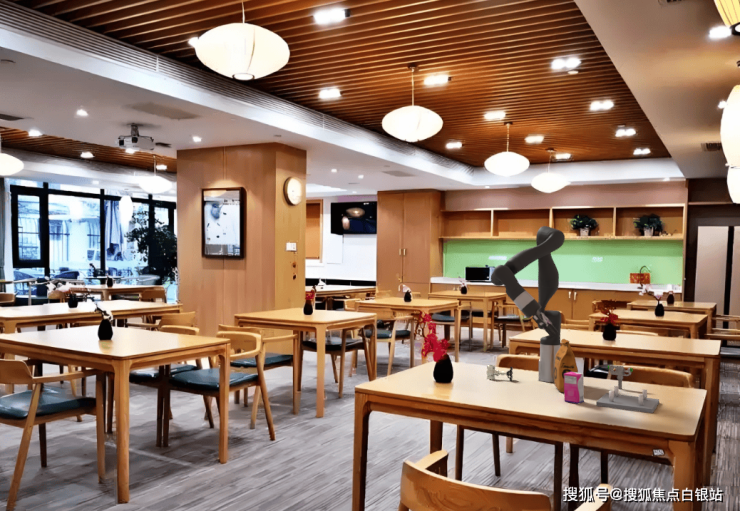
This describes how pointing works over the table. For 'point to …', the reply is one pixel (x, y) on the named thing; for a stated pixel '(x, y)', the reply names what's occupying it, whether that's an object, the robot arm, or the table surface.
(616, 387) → the peg cradle
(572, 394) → the supplement box
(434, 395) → the table surface
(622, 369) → the mechanical component
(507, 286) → the robot arm
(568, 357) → the coffee package
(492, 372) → the valve
